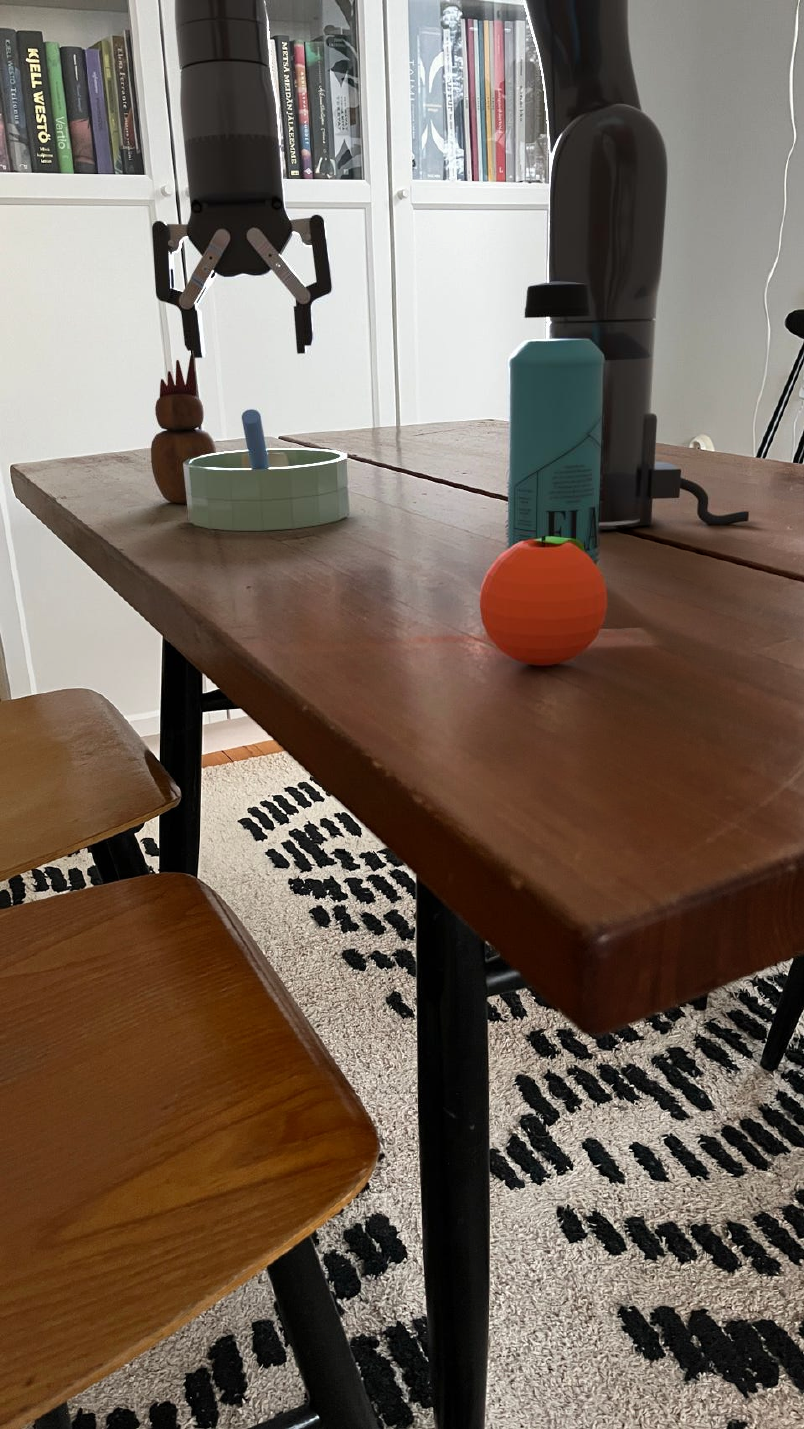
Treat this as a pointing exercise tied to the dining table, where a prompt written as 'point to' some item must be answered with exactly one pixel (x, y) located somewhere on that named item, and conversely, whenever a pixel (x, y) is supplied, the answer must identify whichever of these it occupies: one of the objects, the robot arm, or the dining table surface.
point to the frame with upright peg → (255, 439)
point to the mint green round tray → (267, 491)
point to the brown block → (273, 458)
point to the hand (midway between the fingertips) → (251, 355)
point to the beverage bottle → (555, 427)
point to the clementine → (543, 601)
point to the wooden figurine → (178, 433)
